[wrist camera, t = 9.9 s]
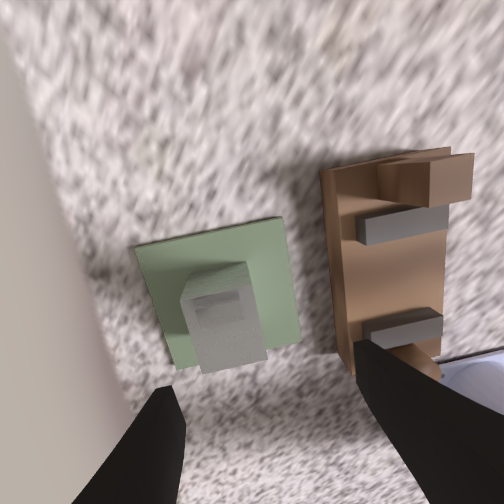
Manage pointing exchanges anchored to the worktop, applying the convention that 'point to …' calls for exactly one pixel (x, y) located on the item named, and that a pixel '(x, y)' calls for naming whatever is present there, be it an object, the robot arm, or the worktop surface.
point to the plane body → (392, 250)
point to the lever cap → (223, 318)
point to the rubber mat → (217, 255)
